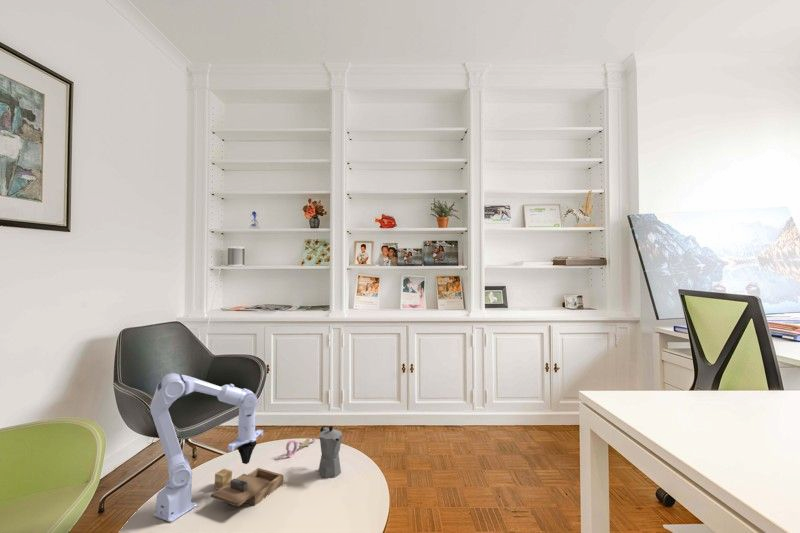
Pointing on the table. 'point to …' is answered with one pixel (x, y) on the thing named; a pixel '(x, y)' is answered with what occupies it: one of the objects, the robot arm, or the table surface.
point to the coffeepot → (330, 452)
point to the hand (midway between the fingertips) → (245, 462)
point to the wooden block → (223, 478)
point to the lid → (240, 489)
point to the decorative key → (297, 445)
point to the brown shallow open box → (274, 483)
